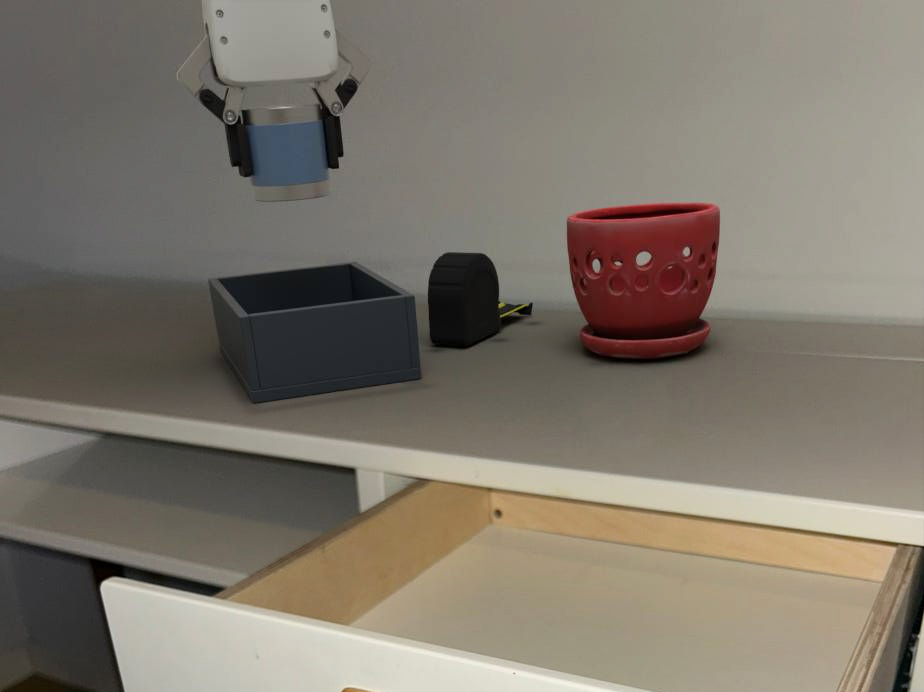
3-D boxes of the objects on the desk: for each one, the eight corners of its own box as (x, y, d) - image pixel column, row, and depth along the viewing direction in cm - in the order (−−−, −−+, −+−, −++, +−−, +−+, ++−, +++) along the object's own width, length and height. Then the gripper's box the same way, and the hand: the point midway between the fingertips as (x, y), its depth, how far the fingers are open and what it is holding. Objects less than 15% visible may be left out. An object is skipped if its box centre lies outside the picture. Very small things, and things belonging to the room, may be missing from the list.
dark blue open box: (253, 403, 88) (239, 317, 85) (220, 351, 106) (207, 278, 102) (421, 378, 92) (414, 295, 89) (363, 332, 109) (355, 261, 106)
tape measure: (466, 349, 101) (460, 260, 97) (426, 346, 102) (419, 259, 99) (533, 316, 112) (530, 235, 108) (496, 314, 114) (492, 235, 110)
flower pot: (730, 335, 100) (738, 197, 94) (690, 371, 89) (695, 218, 84) (599, 329, 105) (598, 198, 99) (546, 362, 95) (542, 218, 89)
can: (260, 204, 88) (246, 109, 85) (247, 197, 94) (234, 108, 91) (339, 196, 90) (328, 103, 87) (322, 189, 96) (311, 102, 92)
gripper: (353, -76, 88) (376, 160, 97) (137, -69, 83) (181, 178, 92) (376, -88, 82) (398, 165, 90) (144, -82, 77) (191, 185, 86)
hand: (289, 170), depth 91 cm, fingers closed on can, 6 cm apart
